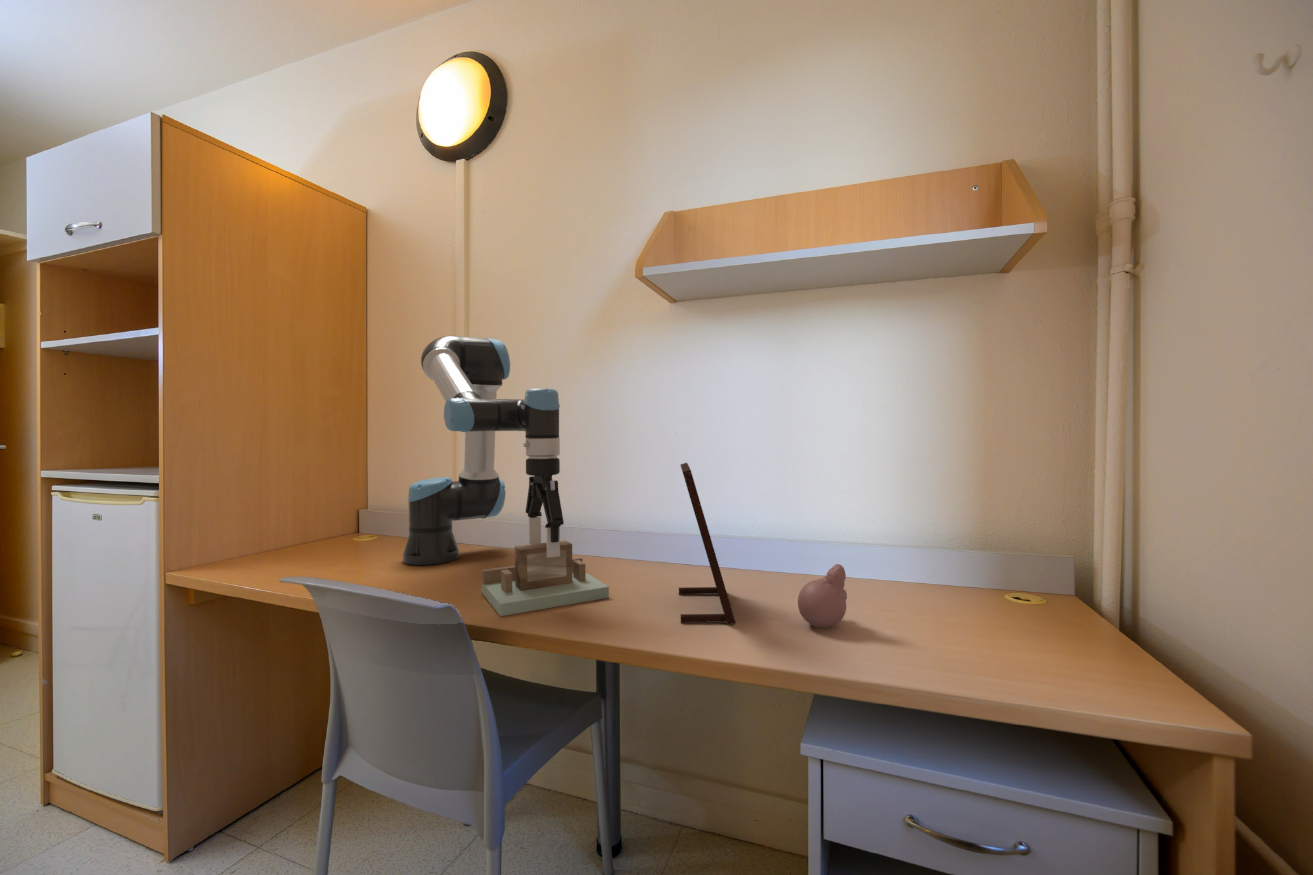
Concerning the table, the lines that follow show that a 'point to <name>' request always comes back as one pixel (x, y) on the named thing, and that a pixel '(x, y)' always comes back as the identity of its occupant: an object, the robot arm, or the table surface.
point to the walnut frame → (542, 566)
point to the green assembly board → (539, 590)
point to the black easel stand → (712, 560)
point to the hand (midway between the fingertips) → (543, 550)
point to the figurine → (824, 599)
